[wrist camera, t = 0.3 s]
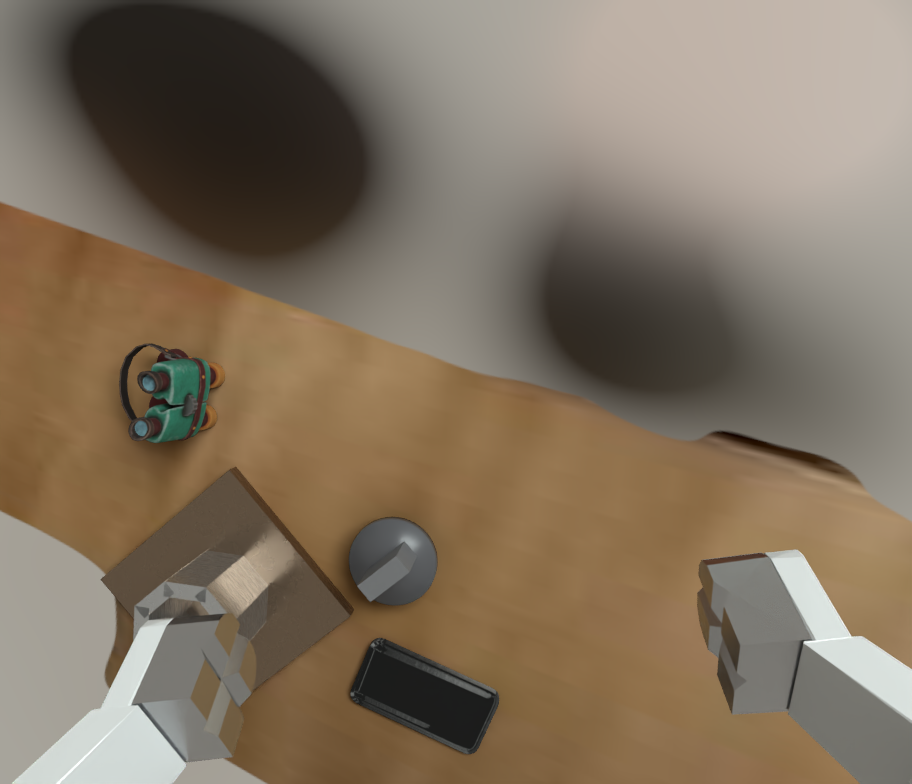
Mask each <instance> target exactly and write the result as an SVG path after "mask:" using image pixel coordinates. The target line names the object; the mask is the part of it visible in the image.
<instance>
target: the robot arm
mask: <svg viewBox="0 0 912 784" xmlns="http://www.w3.org/2000/svg"><path fill="white" fill-rule="evenodd" d="M699 578H700V580H701V583H702V586H703V588H702V589H701V590H700V591H699V592H698V593H697V608H698V615H699V622H700V626H701V629H702V633H703V636H704V639H705V642H706V645H707V648H708V650H709V651H710V652H712V653H713V654H714V655H715V656H717V657H718V658H719V660H718V673H717V675H718V678H719V681H720V683H721V686H722V689H723V692H724V694H725V697H726V700H727V702H728V705H729V708H730V710H731V713H732V714H748V713H766V712H783V711H789V712H788V715H790V716H791V717H792V718H793V719H794V720H795V721H796V722H797V723H798V724H799V725H800V726H801V727H802V728H803V729H804V730H805V731H806V732H807V733H808V734H809V735H810V736H811V737H812V738H814V739H815V740H816V741H817V742H818V743H819V744H820V745H821V746H822V747H823V748H824V749H825V750H826V751H827V752H828V753H829V754H830V755H831V756H832V757H833V758H834V759H835V760H836V761H837V762H839V763H840V764H841V765H842V766H843V767H844V768H845V769H846V770H847V771H848V772H849V773H850V774H851V775H852V776H853V777H854V778H855V779H856V780H857V781H858V782H859V783H860V784H912V669H910V668H909V667H907V666H906V665H904V664H903V663H901V662H900V661H898V660H897V659H895V658H894V657H892V656H891V655H889V654H888V653H886V652H885V651H883V650H882V649H880V648H879V647H877V646H876V645H875V644H873V643H872V642H870V641H869V640H867V639H866V638H864V637H863V636H853V637H852V636H851V635H850V633H849V631H848V630H847V628H846V626H845V625H844V623H843V621H842V620H841V618H840V616H839V615H838V613H837V611H836V609H835V608H834V606H833V604H832V603H831V601H830V599H829V598H828V596H827V594H826V593H825V591H824V589H823V588H822V586H821V584H820V582H819V581H818V579H817V577H816V576H815V574H814V572H813V571H812V569H811V567H810V566H809V564H808V562H807V561H806V559H805V557H804V555H803V554H802V553H800V552H799V551H798V550H787V551H778V552H769V553H764V554H763V553H754V554H746V555H738V556H730V557H722V558H714V559H706V560H701V562H700V564H699ZM239 626H240V624H239V622H238V621H237V619H236V618H235V616H234V614H233V613H225V614H213V615H201V616H188V617H176V618H166V619H156V620H148V621H147V622H146V623H145V624H144V625H143V626H142V627H141V628H140V629H139V631H138V633H137V635H136V637H135V639H134V641H133V643H132V645H131V647H130V649H129V651H128V653H127V655H126V657H125V659H124V661H123V663H122V665H121V667H120V669H119V672H118V674H117V676H116V678H115V680H114V682H113V684H112V686H111V688H110V690H109V692H108V694H107V696H106V698H105V700H104V702H103V704H102V706H101V708H100V709H93V710H91V711H90V712H89V713H88V714H87V715H86V716H85V717H84V718H82V719H81V720H80V721H79V722H78V723H77V724H76V725H75V726H74V727H73V728H72V729H70V730H69V731H68V732H67V733H66V734H65V735H64V736H63V737H62V738H61V739H60V740H58V741H57V742H56V743H55V744H54V745H53V746H52V747H51V748H50V749H49V750H48V751H46V753H44V754H43V755H42V756H41V757H40V758H39V759H38V760H37V761H36V762H35V763H34V764H32V765H31V766H30V767H29V768H28V769H27V770H26V771H25V772H24V773H23V774H21V775H20V776H19V777H18V778H17V779H16V780H15V781H14V782H13V783H12V784H172V783H173V782H174V781H175V780H176V778H177V777H178V776H179V774H180V773H181V772H182V771H183V769H184V768H185V767H186V763H185V762H193V761H202V760H210V759H219V758H228V757H233V755H234V752H235V748H236V745H237V742H238V738H239V735H240V731H241V728H242V725H243V721H244V716H243V714H242V711H241V709H240V706H241V704H242V703H243V702H244V701H245V700H246V699H247V698H248V697H249V696H250V695H251V693H252V690H253V686H254V682H255V679H256V661H257V660H256V656H255V651H254V648H253V646H252V644H251V642H250V641H249V639H247V638H245V637H243V636H241V635H240V634H238V633H237V632H238V629H239Z"/></svg>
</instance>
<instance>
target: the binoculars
mask: <svg viewBox="0 0 912 784" xmlns="http://www.w3.org/2000/svg"><path fill="white" fill-rule="evenodd" d="M146 346H151V347H154V348H156V349H157V350H159V351H161V352H162V353H160V355H159V356H158V359H157V363H155V364H154V365H153V366H152V368H151V371H145V372H141V373H139V375H138V378H137V380H138V384H139V386H140V388H141V389H142V390H143V391H144V392H146V393H148V394H152V395H153V397H152V398H151V400H150V404H149V409H148V411H147V412H146V414H145V417H141V418H137V417H136V415H135V413H134V411H133V409H132V407H131V405H130V403H129V397H128V392H127V378H128V369H129V366H130V364H131V361H132V359H133V357H134V356H135V355H136V354H137V353H138V352H139V351H140V350H141V349H142V348H143V347H146ZM224 379H225V372H224V370H223V368H222V367H221V366H220V365H218V364H216V363H207V362H206V361H205V360H203V359H199V358H192V357H188V356H187V355H186V354H185V353H184V352H183V351H181V350H179V349H171V350H168V349H166V348H163V347H161V346H158V345H155V344H143V345H140V346H137V347H135V348H134V349H133V350H132V351H131V352H130V353H129V354H128V355H127V356H126V357H125V359H124V362H123V365H122V367H121V371H120V381H119V386H120V397H121V402H122V406H123V408H124V410H125V412H126V414H127V416H128V418H129V419H130V420H131V421H132V422H131V424H130V426H129V435H130V437H131V438H132V439H133V440H135V441H141V440H147V441H150V442H153V443H160V442H166V441H173V440H186V439H188V438H189V437H193V436H194V435H196V434H197V433H198V431H199V430H204V429H208V428H211V427H212V426H214V424H215V423H216V421H217V414H216V411H215V410H214V409H213V408H212V407H211V406H209V405H207V403H206V402H203V401H206V400H207V399H208V394H209V389H210V388H216V387H219V386H220V385H221V384H222V383H223V382H224ZM202 402H203V403H202Z"/></svg>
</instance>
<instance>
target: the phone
mask: <svg viewBox="0 0 912 784" xmlns="http://www.w3.org/2000/svg"><path fill="white" fill-rule="evenodd" d="M351 698H352V700H353V701H354V702H356V703H357V704H359V705H362V706H364V707H366V708H368V709H370V710H372V711H375V712H377V713H379V714H381V715H383V716H385V717H388V718H390V719H392V720H394V721H396V722H398V723H400V724H403V725H405V726H407V727H409V728H411V729H413V730H416V731H418V732H420V733H422V734H424V735H426V736H428V737H431V738H433V739H435V740H437V741H439V742H441V743H444V744H446V745H448V746H450V747H452V748H454V749H456V750H459V751H461V752H463V753H466V754H472V753H474V752H476V751H477V749H478V748H479V746H480V743H481V741H482V739H483V737H484V735H485V733H486V731H487V729H488V726H489V724H490V722H491V720H492V718H493V716H494V714H495V711H496V709H497V707H498V704H499V695H498V693H497V691H496V690H494V689H493V688H491V687H489V686H486V685H484V684H482V683H480V682H478V681H475V680H473V679H471V678H469V677H467V676H465V675H462V674H460V673H458V672H456V671H454V670H451V669H449V668H447V667H445V666H443V665H441V664H438V663H436V662H434V661H432V660H430V659H427V658H425V657H423V656H421V655H419V654H416V653H414V652H412V651H410V650H408V649H406V648H403V647H401V646H399V645H397V644H395V643H392V642H390V641H388V640H386V639H383V638H377V639H375V640H373V641H372V643H371V645H370V647H369V649H368V651H367V654H366V656H365V659H364V661H363V663H362V666H361V668H360V670H359V673H358V675H357V677H356V680H355V682H354V684H353V687H352V689H351Z"/></svg>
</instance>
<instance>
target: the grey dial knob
mask: <svg viewBox="0 0 912 784" xmlns="http://www.w3.org/2000/svg"><path fill="white" fill-rule="evenodd" d="M437 560H438V559H437V552H436V548H435V546H434V543H433V541H432V540H431V538H430V537H429V535H428V534H427V533H426V532H425V531H424V529H422V528H421V527H420V526H419V525H417V524H416V523H414V522H412V521H410V520H407V519H404V518H399V517H385V518H380V519H378V520H375V521H373V522H371V523H370V524H368V525H367V526H365V527H364V528H363V529H362V530H361V532H360V533H359V534H358V535H357V537H356V538H355V540H354V541H353V544H352V546H351V549H350V554H349V567H350V571H351V575H352V577H353V579H354V581H355V583H356V585H357V587H358V588H359V589H360V590H361V591H362V593H363V594H364V595H365V596H366V597H367V599H368V600H369V601H370V602H371V601H373V600H375V601H377V602H379V603H382V604H387V605H403V604H407V603H410V602H413V601H415V600H417V599H418V598H420V597H421V596H422V595H423V594H424V593H425V592H426V591H427V590H428V589H429V587H430V586H431V584H432V582H433V580H434V577H435V574H436V570H437Z"/></svg>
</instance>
